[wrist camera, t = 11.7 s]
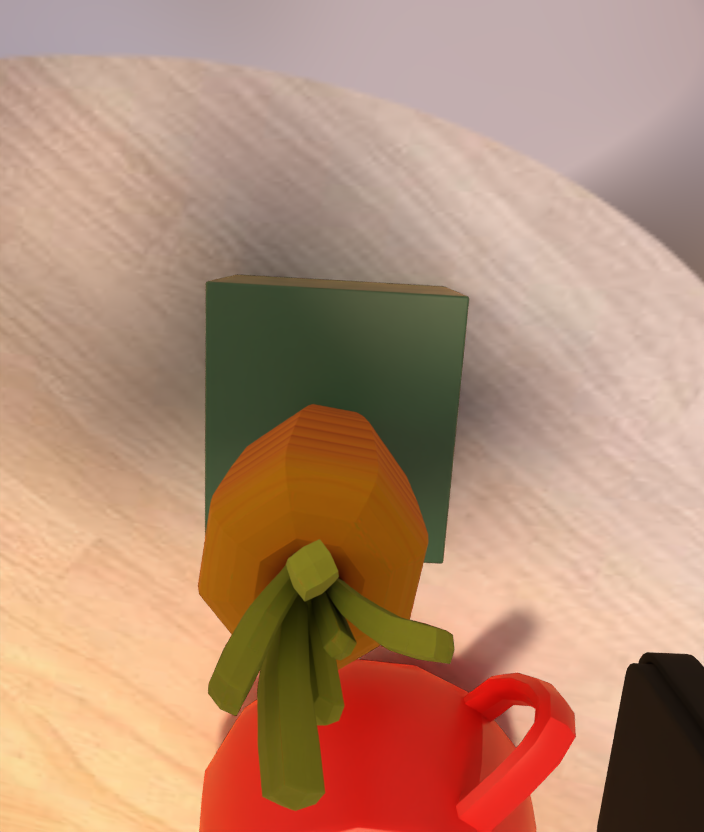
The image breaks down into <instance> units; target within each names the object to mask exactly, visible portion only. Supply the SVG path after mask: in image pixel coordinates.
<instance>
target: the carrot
mask: <svg viewBox="0 0 704 832" xmlns="http://www.w3.org/2000/svg"><path fill="white" fill-rule="evenodd" d="M427 546H428V532H427V529H426V526H425V523H424V520H423V517H422V514H421V511H420V508H419V505H418V502H417V500H416V497H415V495H414V493H413V490H412V488H411V486H410V483H409V481H408V478H407V476H406V475H405V473H404V472H403V470H402V469H401V467H400V466H399V465H398V463H397V462H396V460H395V459H394V457H393V456H392V454H391V453H390V452H389V450H388V449H387V447H386V446H385V444H384V443H383V441H382V440H381V439H380V437H379V436H378V434H377V433H376V431H375V430H374V428H373V427H372V426H371V424H370V423H369V422H368V421H367V420H366V418H365V417H364V416H362V415H360V414H359V413H357V412H352V411H347V410H342V409H337V408H331V407H326V406H321V405H315V404H312V405H309V406H307V407H305V408H304V409H302V410H301V411H299V412H298V413H296V414H295V415H293V416H292V417H290V418H289V419H287V420H286V421H284V422H283V423H281V424H280V425H278V426H277V427H275V428H274V429H272V430H271V431H269V432H268V433H266V434H265V435H263V436H262V437H260V438H259V439H257V440H256V441H254V442H253V443H251V444H250V445H249V446H247V447H246V448H245V450H244V451H243V452H242V454H241V455H240V456H239V457H238V459H237V460H236V461H235V463H234V464H233V465H232V466H231V468H230V469H229V471H228V472H227V474H226V476H225V477H224V479H223V480H222V482H221V483H220V485H219V486H218V488H217V489H216V491H215V493H214V494H213V496H212V499H211V503H210V509H209V516H208V522H207V529H206V536H205V542H204V549H203V556H202V562H201V569H200V576H199V582H198V589H199V595H200V596H201V597H202V598H203V600H204V601H205V602H206V603H207V604H208V606H209V607H210V608H211V609H212V611H213V612H214V613H215V614H216V616H217V617H218V618H219V619H220V620H221V622H222V623H223V624H224V625H225V627H226V628H227V629H228V630H229V632H230V633H231V634H232V636H231V637H230V639H229V641H228V642H227V644H226V646H225V648H224V649H223V652H222V654H221V656H220V659H219V661H218V663H217V666H216V668H215V670H214V672H213V675H212V677H211V679H210V682H209V685H208V694H209V695H210V696H211V698H212V699H213V700H214V702H215V703H216V704H217V706H218V707H219V708H220V709H221V710H223V711H226V712H228V713H230V714H232V715H235V716H237V714H238V712H239V710H240V708H241V706H242V704H243V702H244V700H245V699H246V697H247V695H248V693H249V691H250V689H251V687H252V685H253V683H254V681H255V679H256V677H257V675H258V673H259V671H260V676H259V682H258V688H257V712H258V755H259V766H260V777H261V788H262V797H264V798H266V799H268V800H270V801H272V802H274V803H276V804H278V805H281V806H283V807H286V808H288V809H291V810H294V811H297V810H300V809H303V808H306V807H309V806H312V805H315V804H316V803H317V802H318V801H319V800H320V798H321V797H322V796H323V795H324V794H325V786H324V777H323V768H322V760H321V751H320V742H319V735H318V728H317V725H329V724H332V723H334V722H337V721H339V719H340V716H341V714H342V711H343V709H344V700H343V695H342V689H341V684H340V678H339V673H338V670H339V669H341V668H343V667H344V666H346V665H348V664H349V663H351V662H353V661H355V660H356V659H358V658H360V657H361V656H363V655H365V654H366V653H368V652H370V651H371V650H373V649H375V648H376V647H378V646H380V645H382V646H383V647H385V648H386V649H388V650H390V651H393V652H396V653H399V654H402V655H406V656H409V657H412V658H415V659H419V660H426V661H433V662H440V663H447V664H450V663H451V660H452V656H453V653H454V641H453V635H452V634H451V633H449V632H448V631H446V630H443V629H440V628H437V627H434V626H431V625H428V624H425V623H421V622H417V621H413V620H410V617H411V612H412V608H413V604H414V600H415V596H416V592H417V587H418V583H419V579H420V575H421V571H422V567H423V563H424V558H425V554H426V550H427Z"/></svg>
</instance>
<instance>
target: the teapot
mask: <svg viewBox="0 0 704 832" xmlns="http://www.w3.org/2000/svg"><path fill="white" fill-rule="evenodd" d="M338 673H339V678H340V684H341V689H342V695H343V700H344V709H343V711H342V714H341V716H340V719H339V721H337V722H334V723H332V724H329V725H317V728H318V735H319V742H320V751H321V760H322V768H323V777H324V786H325V794H324V795H323V796H322V797H321V798H320V800H319V801H318V802H317V803H316V804H315V805H312V806H309V807H306V808H303V809H300V810H297V811H294V810H291V809H288V808H286V807H283V806H281V805H278V804H276V803H274V802H272V801H270V800H268V799H266V798H264V797H262V788H261V777H260V766H259V755H258V712H257V700H255V701H254V702H252V703H251V704H249V705H248V706H247V707H245V708H244V710H243V711H242V713H241V714H240V716H239V717H238V719H237V720H236V722H235V723H234V725H233V726H232V728H231V730H230V731H229V733H228V735H227V736H226V738H225V739H224V741H223V743H222V744H221V746H220V748H219V749H218V751H217V752H216V754H215V756H214V757H213V759H212V761H211V762H210V764H209V766H208V767H207V769H206V770H205V776H204V784H203V793H202V803H201V816H200V828H199V832H536V823H535V817H534V812H533V806H532V801H531V797H530V794H531V793H532V792H533V791H534V790H535V789H536V788H537V787H538V786H539V785H540V784H541V783H542V782H543V781H544V780H545V779H546V778H547V776H548V775H549V774H550V773H551V772H552V771H553V770H554V769H555V768H556V767H557V766H558V765H559V764H560V762H561V761H562V759H563V757H564V756H565V754H566V752H567V750H568V749H569V747H570V745H571V744H572V742H573V740H574V739H575V737H576V733H575V715H574V712H573V711H572V709H571V708H570V706H569V705H568V703H567V702H566V701H565V699H564V698H563V697H562V696H561V695H560V693H559V692H558V691H557V690H556V689H555V688H554V686H553V685H552V684H550V683H547V682H545V681H542V680H540V679H537V678H534V677H530V676H527V675H524V674H520V673H511V674H503V675H495V676H491V677H490V678H488V679H487V680H486V681H485V682H483V683H482V684H481V685H479V686H478V687H477V688H475V689H474V690H473V691H471V692H470V693H469V692H467V691H465V690H463V689H461V688H459V687H457V686H455V685H453V684H451V683H449V682H447V681H445V680H443V679H441V678H439V677H437V676H435V675H433V674H431V673H429V672H427V671H425V670H423V669H421V668H419V667H417V666H415V665H406V664H397V663H388V662H378V661H369V660H360V659H356V660H355V661H353V662H351V663H349V664H348V665H346V666H344V667H343V668H341V669H339V670H338ZM513 705H522V706H531V707H533V708H535V709H536V711H535V721H534V724H533V726H532V727H531V729H530V730H529V732H528V733H527V734H526V736H525V737H524V739H523V740H522V742H521V743H520V744H519V745H518V746H517V747H515V746H514V745H513V743H512V742H511V741H510V739H509V738H508V737H507V735H506V734H505V733H504V732H503V730H502V729H501V728H500V727H499V725H498V724H497V723H496V722H495V721H494V719H496V718H497V717H498V716H500V715H501V714H502V713H504V712H505V711H506V710H508V709H509V708H510V707H512V706H513Z"/></svg>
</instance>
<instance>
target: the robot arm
mask: <svg viewBox="0 0 704 832" xmlns="http://www.w3.org/2000/svg"><path fill="white" fill-rule="evenodd" d="M597 832H704V667H703V666H702V664H701V663H700V662H699V661H698V660H697V659H696V658H695V657H694V656H692V655H689V654H673V653H650V652H647V653H645V654H643V655H642V657H641V658H640V660H639V663H632V664H630V665H629V667H628V668H627V671H626V675H625V680H624V686H623V691H622V696H621V702H620V707H619V712H618V718H617V723H616V728H615V734H614V739H613V745H612V750H611V755H610V761H609V766H608V771H607V777H606V782H605V787H604V793H603V798H602V803H601V809H600V814H599V820H598V825H597Z"/></svg>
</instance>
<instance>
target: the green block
mask: <svg viewBox="0 0 704 832" xmlns="http://www.w3.org/2000/svg"><path fill="white" fill-rule="evenodd" d="M468 306H469V297H468V296H466V295H463V294H461V293H459V292H456V291H454V290H451V289H449V288H447V287H444V286H428V285H411V284H393V283H376V282H359V281H342V280H324V279H307V278H290V277H272V276H255V275H238V274H237V275H233V276H228V277H224V278H220V279H215V280H211V281H207V282H206V359H205V536H206V529H207V522H208V516H209V509H210V503H211V499H212V496H213V494H214V493H215V491H216V489H217V488H218V486H219V485H220V483H221V482H222V480H223V479H224V477H225V476H226V474H227V472H228V471H229V469H230V468H231V466H232V465H233V464H234V463H235V461H236V460H237V459H238V457H239V456H240V455H241V454H242V452H243V451H244V450H245V448H246V447H247V446H249V445H250V444H251V443H253V442H254V441H256V440H257V439H259V438H260V437H262V436H263V435H265V434H266V433H268V432H269V431H271V430H272V429H274V428H275V427H277V426H278V425H280V424H281V423H283V422H284V421H286V420H287V419H289V418H290V417H292V416H293V415H295V414H296V413H298V412H299V411H301V410H302V409H304V408H305V407H307V406H309V405H312V404H315V405H321V406H326V407H331V408H337V409H342V410H347V411H352V412H357V413H359V414H360V415H362V416H364V417H365V418H366V420H367V421H368V422H369V423H370V424H371V426H372V427H373V428H374V430H375V431H376V433H377V434H378V436H379V437H380V439H381V440H382V441H383V443H384V444H385V446H386V447H387V449H388V450H389V452H390V453H391V454H392V456H393V457H394V459H395V460H396V462H397V463H398V465H399V466H400V467H401V469H402V470H403V472H404V473H405V475H406V476H407V478H408V481H409V483H410V486H411V488H412V490H413V493H414V495H415V497H416V500H417V502H418V505H419V508H420V511H421V514H422V517H423V520H424V523H425V526H426V529H427V532H428V546H427V550H426V554H425V558H424V563H443V558H444V548H445V538H446V528H447V518H448V508H449V498H450V488H451V478H452V468H453V458H454V447H455V437H456V427H457V417H458V407H459V397H460V387H461V377H462V367H463V357H464V346H465V336H466V326H467V316H468Z"/></svg>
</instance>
